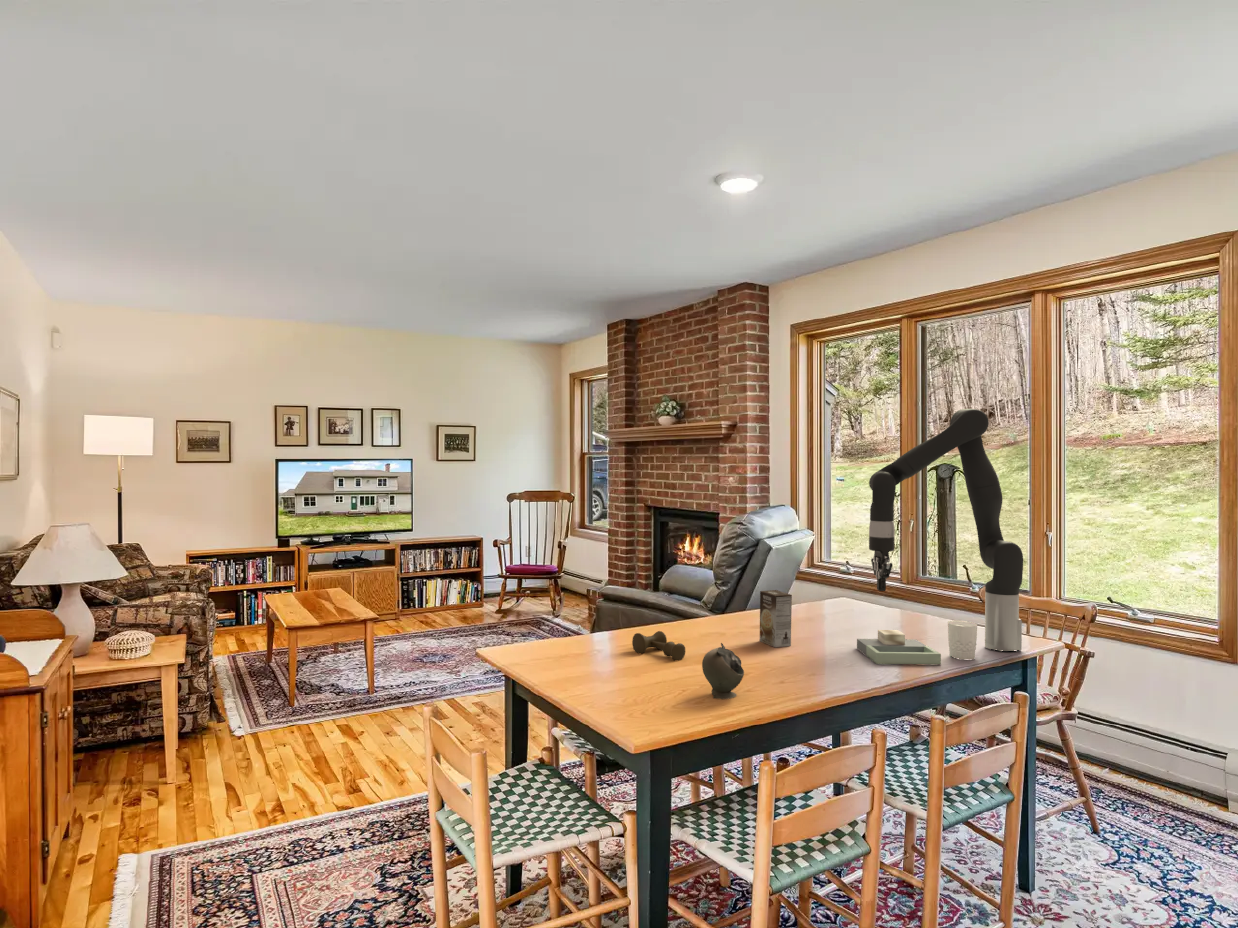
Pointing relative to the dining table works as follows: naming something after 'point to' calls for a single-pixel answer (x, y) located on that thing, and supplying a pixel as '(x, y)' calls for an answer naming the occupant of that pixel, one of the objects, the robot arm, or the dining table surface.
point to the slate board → (891, 646)
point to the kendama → (658, 645)
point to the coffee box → (775, 618)
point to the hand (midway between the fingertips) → (881, 590)
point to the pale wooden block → (891, 637)
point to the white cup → (962, 639)
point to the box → (904, 656)
